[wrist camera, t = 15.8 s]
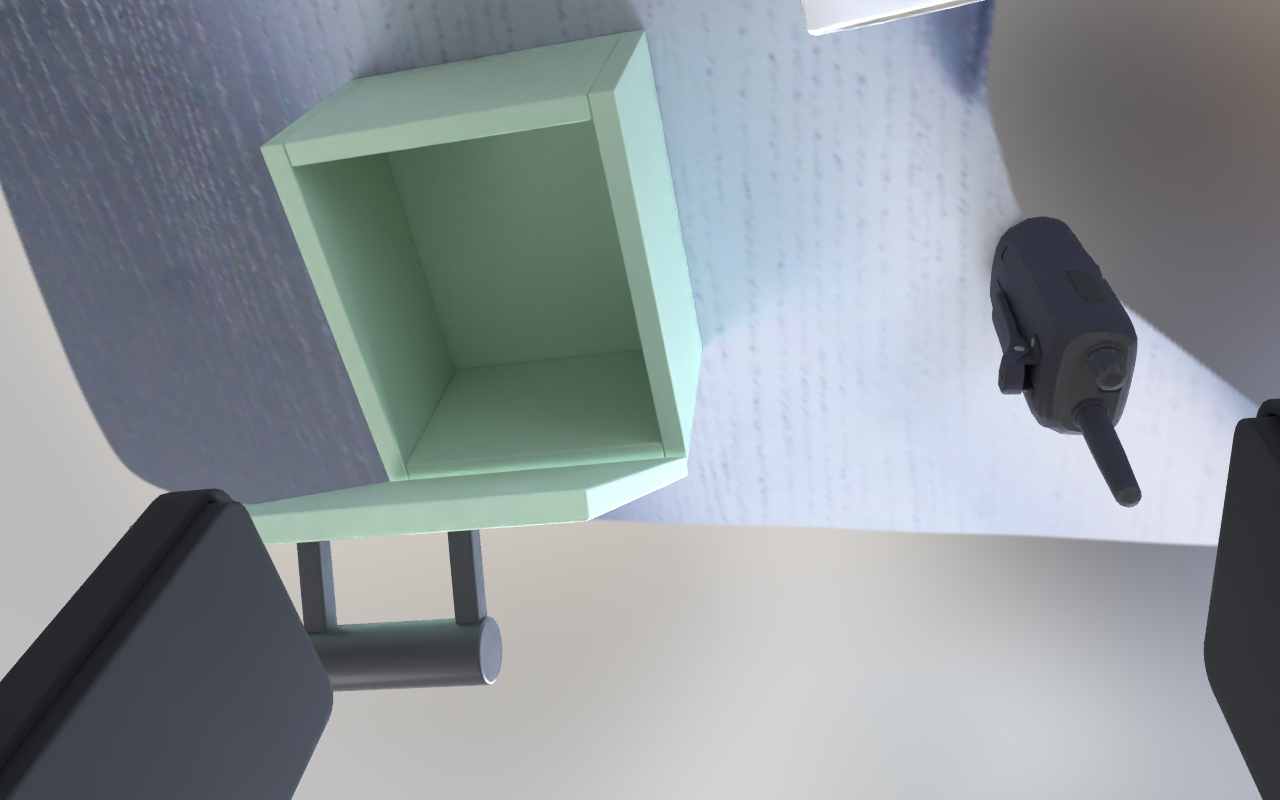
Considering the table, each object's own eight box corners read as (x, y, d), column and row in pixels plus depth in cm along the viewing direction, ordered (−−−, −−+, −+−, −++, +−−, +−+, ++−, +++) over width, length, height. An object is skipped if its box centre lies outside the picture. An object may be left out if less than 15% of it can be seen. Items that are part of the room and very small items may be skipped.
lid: (127, 525, 27) (143, 719, 27) (586, 488, 25) (606, 702, 24) (386, 481, 42) (397, 605, 42) (686, 455, 40) (698, 587, 40)
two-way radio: (1059, 324, 45) (1167, 545, 32) (956, 324, 45) (1022, 540, 33) (1080, 206, 42) (1207, 398, 29) (970, 207, 43) (1048, 396, 30)
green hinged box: (350, 79, 43) (259, 146, 35) (645, 28, 40) (613, 89, 33) (449, 377, 50) (390, 484, 43) (703, 350, 48) (688, 459, 40)
